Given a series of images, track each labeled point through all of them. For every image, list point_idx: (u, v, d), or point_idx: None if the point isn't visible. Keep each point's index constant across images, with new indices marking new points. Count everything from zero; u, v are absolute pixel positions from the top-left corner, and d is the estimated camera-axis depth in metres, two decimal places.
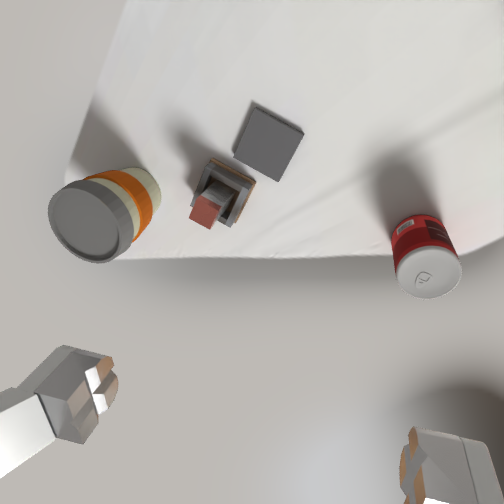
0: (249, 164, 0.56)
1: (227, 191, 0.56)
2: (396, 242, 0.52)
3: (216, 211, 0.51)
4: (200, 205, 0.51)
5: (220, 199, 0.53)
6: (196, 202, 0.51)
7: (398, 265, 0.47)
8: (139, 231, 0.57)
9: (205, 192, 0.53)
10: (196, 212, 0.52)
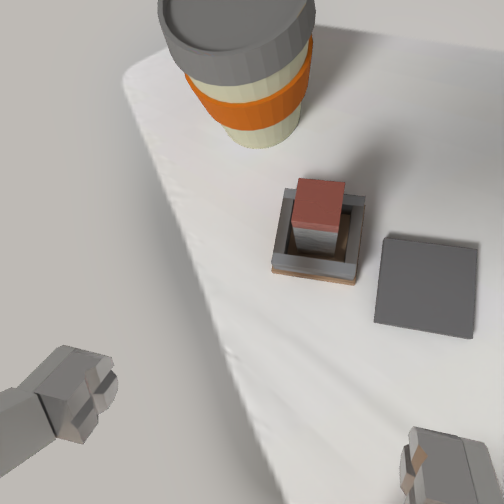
0: (384, 266, 0.34)
1: None
2: None
3: (335, 223, 0.26)
4: (334, 192, 0.27)
5: None
6: (336, 184, 0.27)
7: None
8: (229, 104, 0.32)
9: None
10: (316, 188, 0.27)
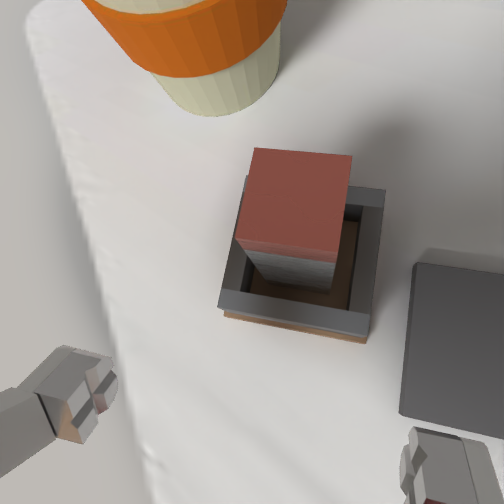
0: (418, 312, 0.19)
1: None
2: None
3: (330, 245, 0.12)
4: (329, 177, 0.12)
5: None
6: (334, 160, 0.13)
7: None
8: (136, 17, 0.17)
9: None
10: (291, 169, 0.13)
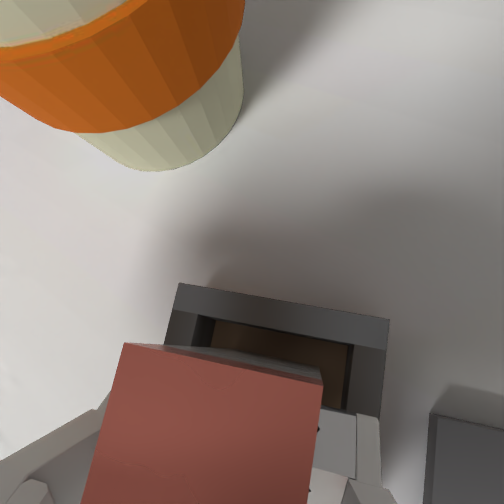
0: None
1: None
2: None
3: None
4: (271, 436, 0.06)
5: None
6: (284, 393, 0.06)
7: None
8: None
9: None
10: (192, 406, 0.06)
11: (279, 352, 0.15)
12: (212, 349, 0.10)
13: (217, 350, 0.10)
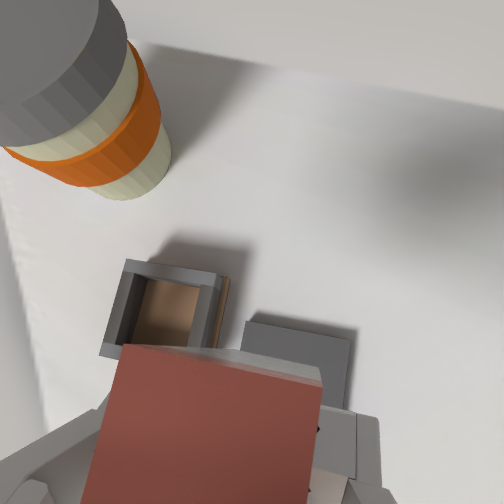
0: None
1: None
2: None
3: None
4: (271, 438, 0.06)
5: None
6: (283, 395, 0.06)
7: None
8: (36, 162, 0.25)
9: None
10: (192, 407, 0.06)
11: (177, 293, 0.30)
12: (212, 350, 0.10)
13: (217, 351, 0.10)
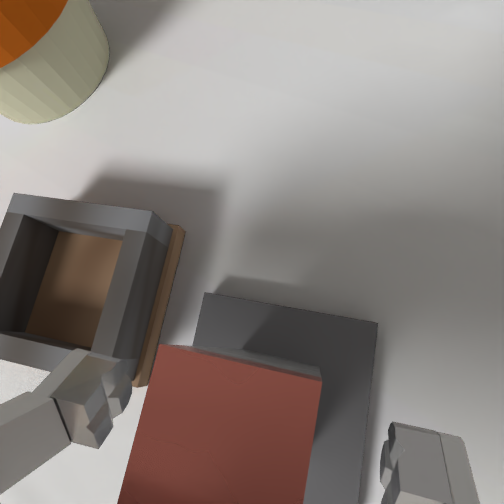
0: None
1: None
2: None
3: None
4: (280, 421, 0.07)
5: None
6: (290, 387, 0.07)
7: None
8: None
9: None
10: (216, 396, 0.07)
11: (101, 252, 0.19)
12: (225, 349, 0.12)
13: (229, 350, 0.12)
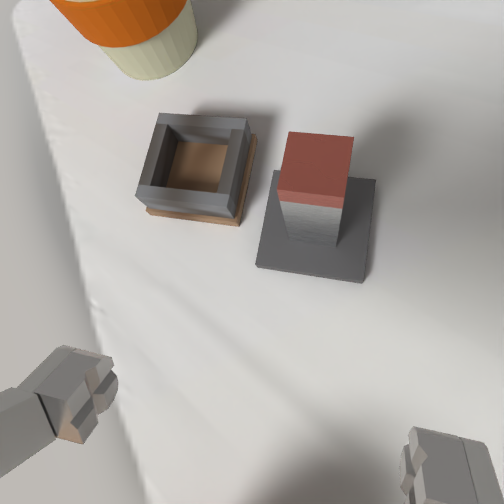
0: (270, 201, 0.29)
1: None
2: None
3: (339, 193, 0.18)
4: (338, 150, 0.19)
5: None
6: (341, 140, 0.19)
7: None
8: (77, 4, 0.27)
9: None
10: (313, 145, 0.19)
11: (207, 151, 0.31)
12: None
13: None
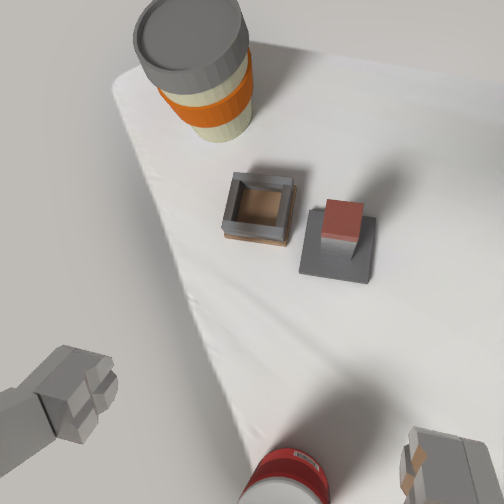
0: (307, 230, 0.44)
1: None
2: (287, 458, 0.35)
3: (356, 235, 0.34)
4: (355, 211, 0.35)
5: None
6: (357, 205, 0.35)
7: (275, 478, 0.29)
8: (188, 108, 0.42)
9: None
10: (341, 207, 0.35)
11: (264, 196, 0.47)
12: None
13: None
